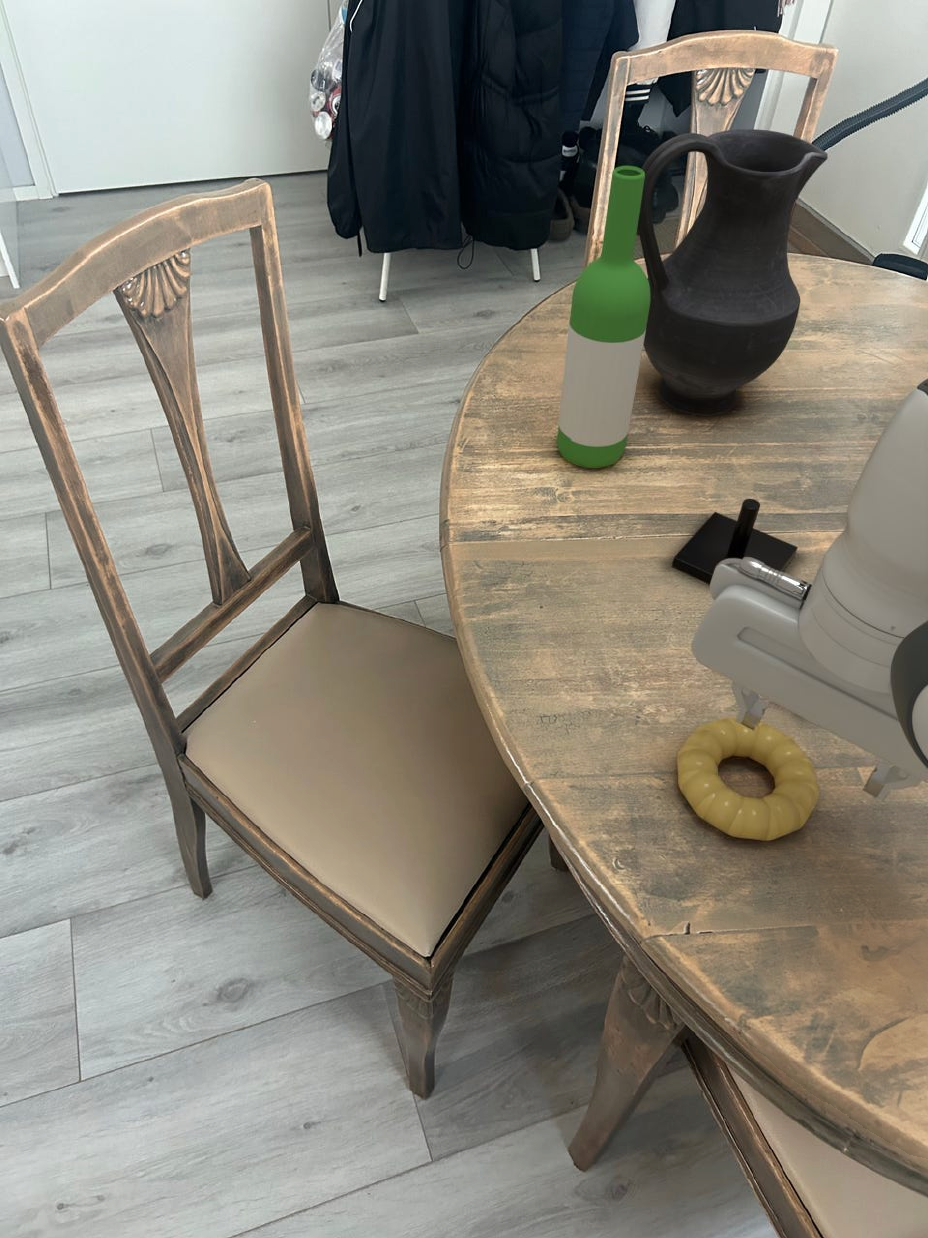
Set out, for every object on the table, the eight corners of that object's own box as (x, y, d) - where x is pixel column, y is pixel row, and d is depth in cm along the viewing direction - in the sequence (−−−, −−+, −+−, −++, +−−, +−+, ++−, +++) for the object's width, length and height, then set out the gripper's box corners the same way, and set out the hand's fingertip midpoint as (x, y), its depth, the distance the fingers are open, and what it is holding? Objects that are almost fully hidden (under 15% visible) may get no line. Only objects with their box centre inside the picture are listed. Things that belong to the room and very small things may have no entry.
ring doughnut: (831, 777, 69) (843, 755, 67) (777, 873, 63) (789, 852, 61) (710, 713, 73) (718, 690, 71) (650, 797, 68) (657, 775, 65)
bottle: (596, 425, 103) (636, 150, 82) (638, 459, 98) (691, 177, 77) (542, 444, 100) (567, 164, 79) (582, 480, 96) (621, 193, 74)
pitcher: (795, 422, 104) (885, 150, 82) (634, 449, 100) (685, 169, 78) (725, 351, 115) (788, 95, 94) (578, 373, 111) (609, 110, 90)
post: (794, 555, 87) (816, 498, 82) (756, 606, 82) (777, 548, 77) (712, 520, 91) (728, 463, 86) (671, 566, 86) (685, 508, 81)
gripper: (699, 572, 54) (658, 709, 64) (1051, 740, 46) (940, 867, 56) (743, 520, 58) (697, 658, 68) (1077, 668, 49) (969, 800, 60)
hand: (809, 754), depth 62 cm, fingers open, 8 cm apart
